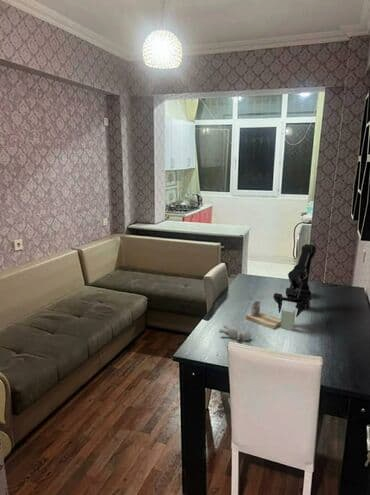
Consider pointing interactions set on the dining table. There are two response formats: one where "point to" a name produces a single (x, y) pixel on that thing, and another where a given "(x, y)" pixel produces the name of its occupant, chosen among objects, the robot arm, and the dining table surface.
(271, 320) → the tan board with upright
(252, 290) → the dining table surface
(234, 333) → the bunny figurine
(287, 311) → the sage book
